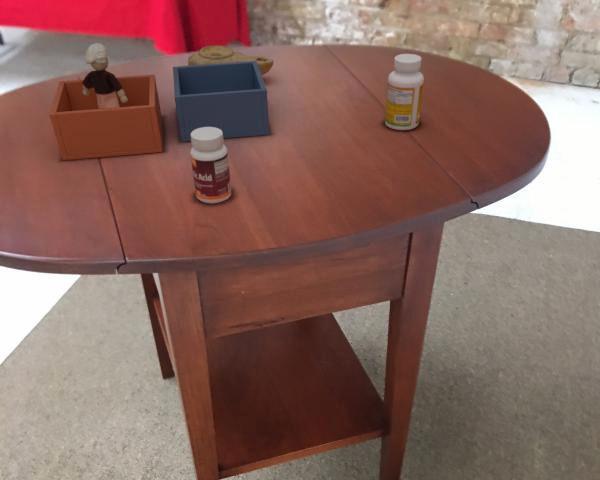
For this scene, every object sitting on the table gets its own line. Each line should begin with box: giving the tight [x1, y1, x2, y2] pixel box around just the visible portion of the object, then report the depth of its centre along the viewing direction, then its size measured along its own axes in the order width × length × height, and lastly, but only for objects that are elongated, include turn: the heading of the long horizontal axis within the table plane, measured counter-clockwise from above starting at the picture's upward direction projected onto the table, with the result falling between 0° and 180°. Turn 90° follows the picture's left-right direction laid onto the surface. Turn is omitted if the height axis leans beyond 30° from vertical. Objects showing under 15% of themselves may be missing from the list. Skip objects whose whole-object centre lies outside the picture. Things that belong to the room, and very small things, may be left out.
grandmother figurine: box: [82, 42, 128, 109], centre depth 94 cm, size 8×4×13 cm, turn 78°
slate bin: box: [172, 61, 270, 143], centre depth 100 cm, size 14×14×7 cm
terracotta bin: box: [49, 74, 164, 161], centre depth 96 cm, size 15×14×7 cm
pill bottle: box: [189, 127, 232, 204], centre depth 82 cm, size 5×5×8 cm
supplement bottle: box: [384, 53, 425, 131], centre depth 97 cm, size 5×5×10 cm
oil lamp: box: [187, 44, 274, 76], centre depth 114 cm, size 11×14×5 cm
